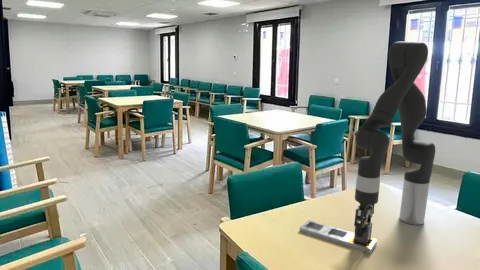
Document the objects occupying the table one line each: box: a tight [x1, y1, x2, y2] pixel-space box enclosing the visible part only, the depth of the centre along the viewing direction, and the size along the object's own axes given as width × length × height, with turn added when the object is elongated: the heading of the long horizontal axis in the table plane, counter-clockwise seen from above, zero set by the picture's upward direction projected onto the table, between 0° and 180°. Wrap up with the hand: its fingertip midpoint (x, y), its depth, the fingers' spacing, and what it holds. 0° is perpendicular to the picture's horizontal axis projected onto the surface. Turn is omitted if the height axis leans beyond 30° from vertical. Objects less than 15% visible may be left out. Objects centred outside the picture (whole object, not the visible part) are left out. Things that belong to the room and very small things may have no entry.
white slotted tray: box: [299, 219, 378, 256], centre depth 132 cm, size 8×26×2 cm, turn 55°
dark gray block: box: [354, 221, 373, 247], centre depth 126 cm, size 4×4×9 cm
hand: (363, 231), depth 126 cm, fingers open, 8 cm apart
